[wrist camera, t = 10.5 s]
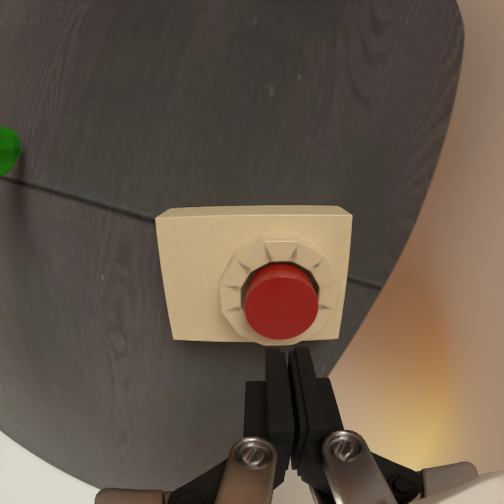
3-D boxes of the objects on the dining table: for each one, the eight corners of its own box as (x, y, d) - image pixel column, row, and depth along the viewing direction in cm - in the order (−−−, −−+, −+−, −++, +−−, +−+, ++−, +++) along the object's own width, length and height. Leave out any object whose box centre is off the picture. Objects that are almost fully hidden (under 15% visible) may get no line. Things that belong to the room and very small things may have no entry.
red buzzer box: (338, 205, 19) (363, 221, 15) (329, 316, 22) (344, 354, 17) (170, 208, 20) (143, 224, 15) (182, 317, 23) (166, 355, 18)
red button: (315, 262, 16) (321, 275, 14) (310, 322, 17) (315, 338, 15) (244, 264, 16) (243, 276, 14) (246, 323, 17) (245, 340, 16)
